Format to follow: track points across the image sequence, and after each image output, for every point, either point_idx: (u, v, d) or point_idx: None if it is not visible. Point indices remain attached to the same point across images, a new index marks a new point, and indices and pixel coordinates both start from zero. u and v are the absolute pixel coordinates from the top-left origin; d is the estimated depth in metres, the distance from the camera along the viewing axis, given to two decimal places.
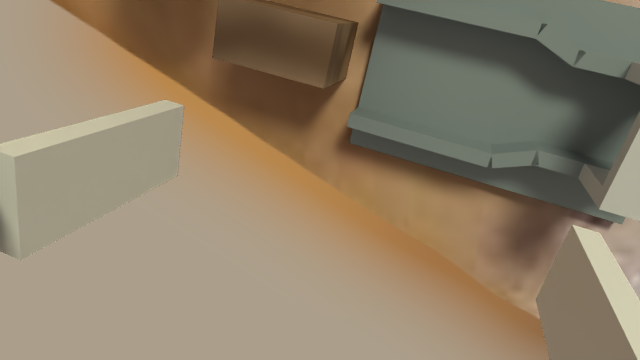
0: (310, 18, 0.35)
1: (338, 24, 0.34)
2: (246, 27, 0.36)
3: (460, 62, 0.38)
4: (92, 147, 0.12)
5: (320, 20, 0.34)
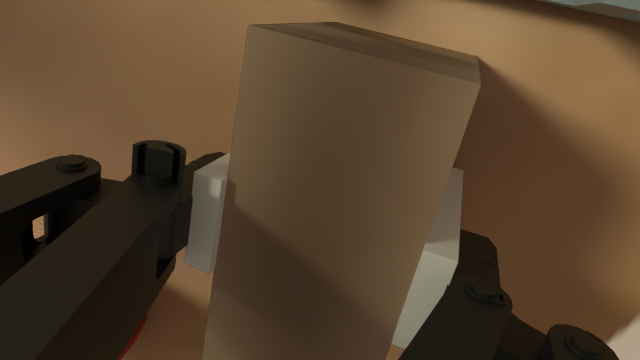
0: (239, 121, 0.11)
1: (257, 25, 0.10)
2: (273, 321, 0.12)
3: None
4: None
5: (242, 87, 0.10)
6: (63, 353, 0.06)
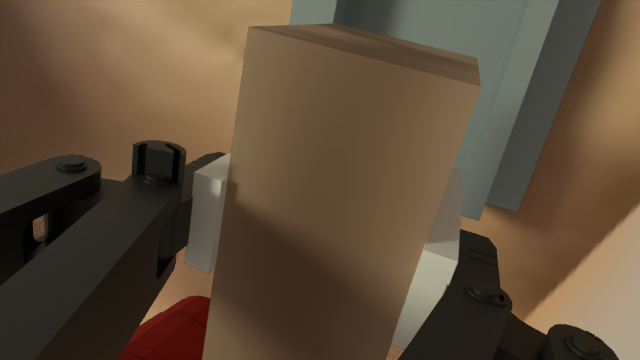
0: (239, 123, 0.11)
1: (258, 27, 0.10)
2: (273, 322, 0.12)
3: None
4: None
5: (243, 89, 0.10)
6: (63, 353, 0.06)
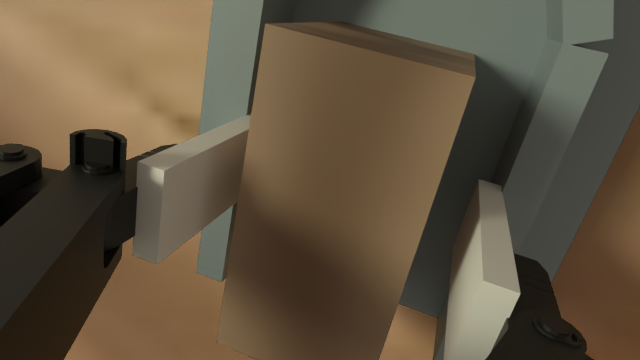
0: (255, 111, 0.12)
1: (273, 24, 0.11)
2: (285, 297, 0.13)
3: None
4: (211, 159, 0.13)
5: (259, 80, 0.11)
6: (15, 341, 0.06)
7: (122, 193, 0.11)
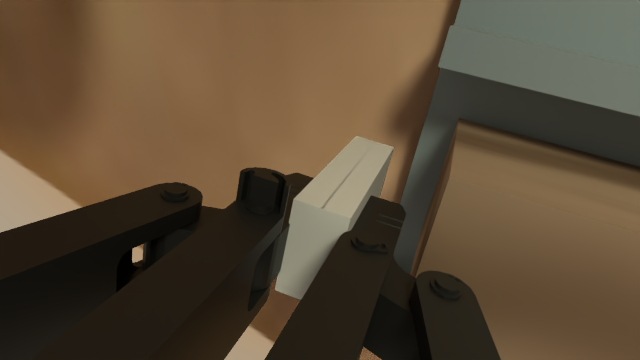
0: None
1: None
2: (536, 282, 0.11)
3: None
4: None
5: None
6: None
7: (281, 232, 0.11)
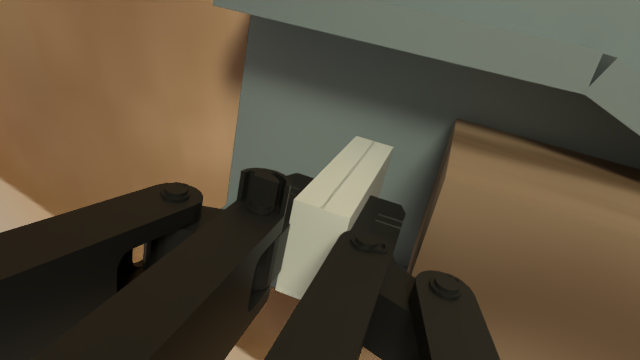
0: None
1: None
2: (529, 281, 0.11)
3: (412, 130, 0.18)
4: None
5: None
6: None
7: (281, 232, 0.11)
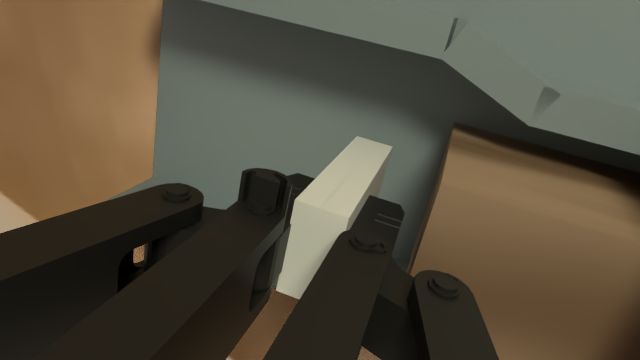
0: None
1: None
2: (525, 286, 0.11)
3: (314, 101, 0.19)
4: None
5: None
6: None
7: (282, 232, 0.11)
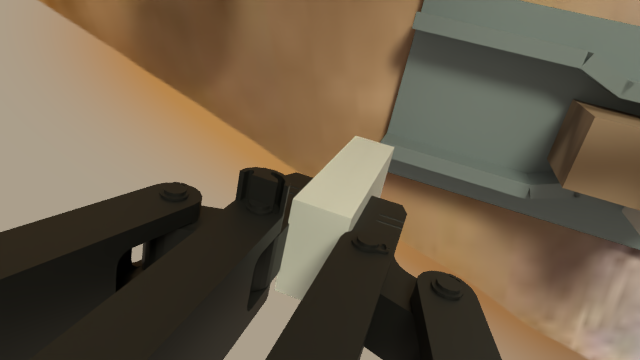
0: None
1: None
2: (626, 157, 0.29)
3: (496, 89, 0.36)
4: None
5: None
6: None
7: (280, 232, 0.11)
